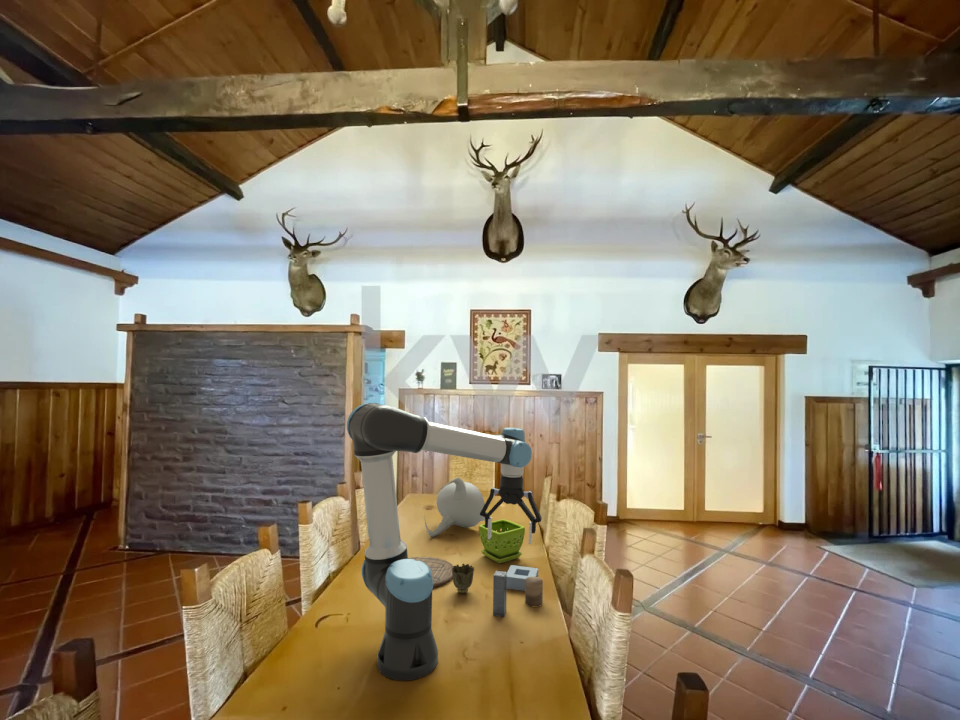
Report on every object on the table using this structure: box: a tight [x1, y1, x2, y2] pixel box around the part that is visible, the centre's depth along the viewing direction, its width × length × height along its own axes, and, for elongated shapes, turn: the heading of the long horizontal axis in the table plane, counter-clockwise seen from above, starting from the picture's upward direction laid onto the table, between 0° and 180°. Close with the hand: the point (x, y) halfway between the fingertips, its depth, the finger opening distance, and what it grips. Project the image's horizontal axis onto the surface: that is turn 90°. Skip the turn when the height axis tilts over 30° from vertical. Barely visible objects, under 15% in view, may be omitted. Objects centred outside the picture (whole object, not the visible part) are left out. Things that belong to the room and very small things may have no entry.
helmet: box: [423, 477, 486, 538], centre depth 215 cm, size 24×29×35 cm
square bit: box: [492, 570, 508, 618], centre depth 141 cm, size 3×3×12 cm
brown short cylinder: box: [524, 576, 544, 607], centre depth 148 cm, size 6×6×7 cm
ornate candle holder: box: [452, 563, 475, 595], centre depth 155 cm, size 8×7×8 cm
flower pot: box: [478, 518, 526, 565], centre depth 185 cm, size 14×14×13 cm
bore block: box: [506, 564, 539, 592], centre depth 161 cm, size 10×10×4 cm
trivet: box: [408, 556, 454, 589], centre depth 168 cm, size 25×25×2 cm
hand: (509, 540), depth 151 cm, fingers open, 13 cm apart
